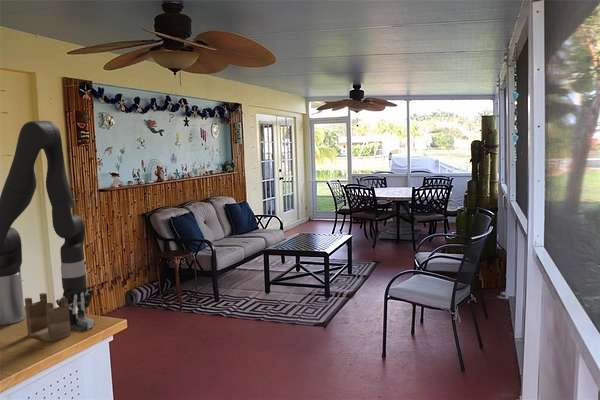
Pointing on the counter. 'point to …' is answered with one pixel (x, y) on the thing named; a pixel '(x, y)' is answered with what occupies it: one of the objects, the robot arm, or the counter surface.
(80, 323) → the steel rod
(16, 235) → the robot arm
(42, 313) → the cradle
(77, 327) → the mat
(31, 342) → the counter surface
